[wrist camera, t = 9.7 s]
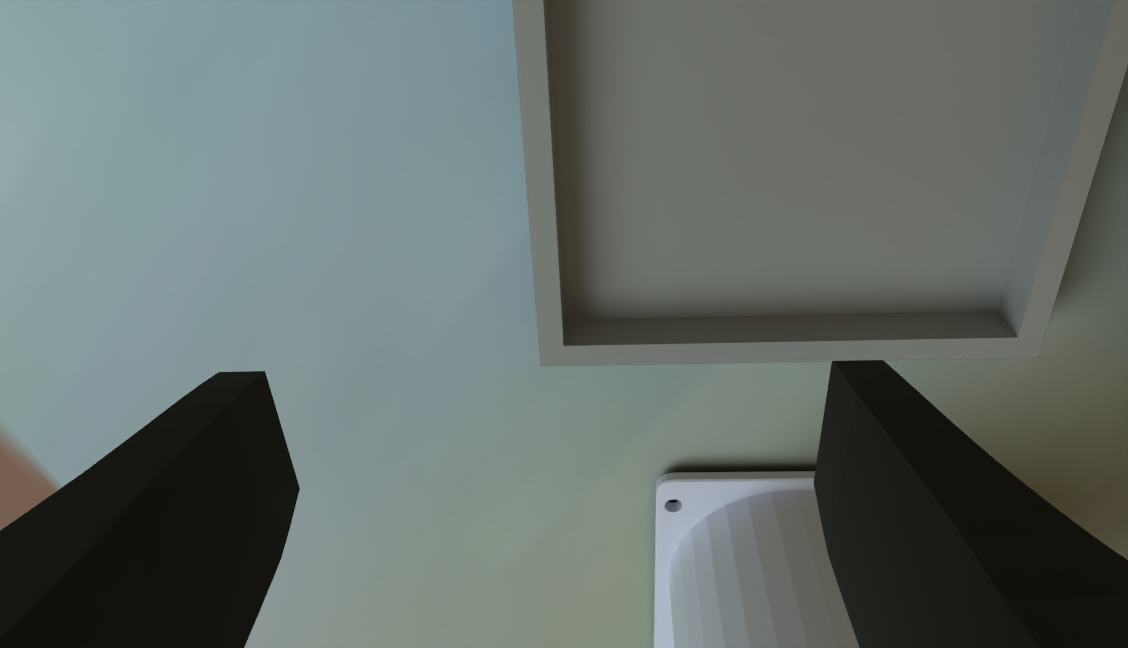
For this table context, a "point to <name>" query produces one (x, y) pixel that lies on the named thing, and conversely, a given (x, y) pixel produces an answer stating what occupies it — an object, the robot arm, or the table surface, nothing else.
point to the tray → (808, 174)
